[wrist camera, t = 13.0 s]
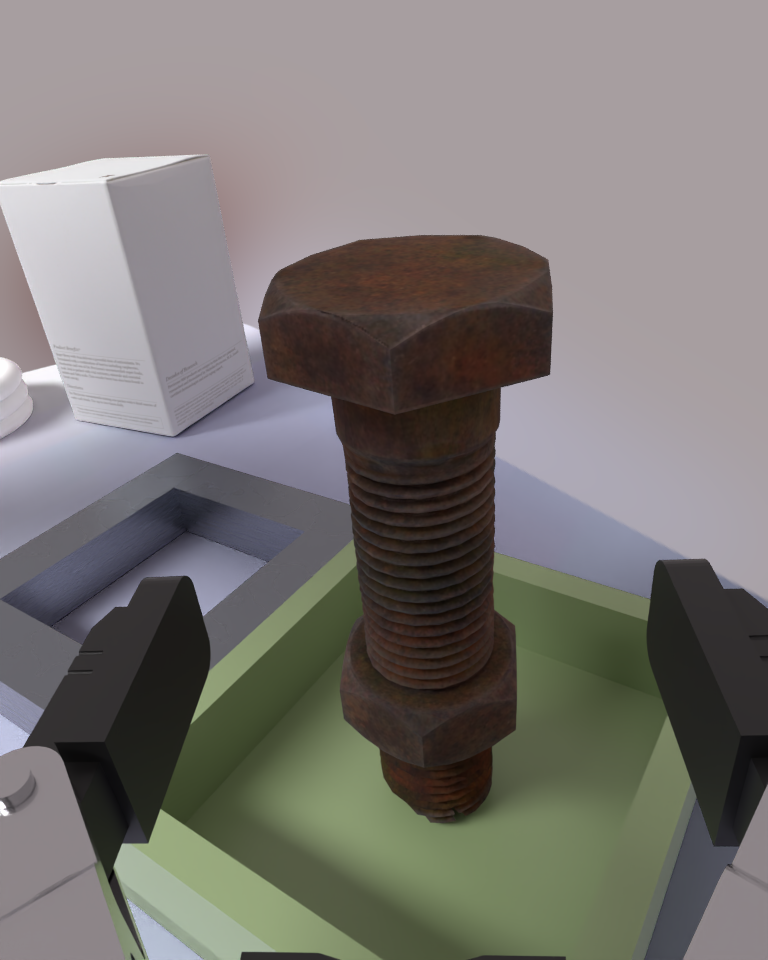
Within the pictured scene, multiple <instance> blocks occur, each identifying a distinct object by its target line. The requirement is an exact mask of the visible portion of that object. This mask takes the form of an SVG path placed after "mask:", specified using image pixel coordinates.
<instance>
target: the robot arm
mask: <svg viewBox="0 0 768 960" xmlns="http://www.w3.org/2000/svg"><path fill="white" fill-rule="evenodd" d="M646 640H647V651H648V657H649V662H650V665H651V669H652V672H653V674H654V677H655V680H656V683H657V686H658V689H659V691H660V694H661V697H662V700H663V703H664V706H665V709H666V711H667V714H668V717H669V720H670V723H671V726H672V728H673V731H674V734H675V737H676V740H677V743H678V746H679V748H680V751H681V754H682V757H683V760H684V763H685V766H686V768H687V771H688V774H689V777H690V780H691V783H692V785H693V788H694V791H695V794H696V797H697V800H698V803H699V805H700V808H701V811H702V814H703V817H704V820H705V822H706V825H707V828H708V831H709V834H710V837H711V840H712V842H713V845H714V846H740V847H739V849H738V851H737V854H736V856H735V858H734V860H733V862H732V864H731V865H730V864H728V865H727V866H726V868H725V869H724V871H723V873H722V875H721V877H720V879H719V881H718V883H717V886H716V888H715V890H714V892H713V894H712V897H711V899H710V901H709V903H708V905H707V908H706V910H705V912H704V914H703V916H702V919H701V921H700V923H699V925H698V927H697V930H696V932H695V934H694V936H693V938H692V941H691V943H690V945H689V947H688V949H687V952H686V954H685V956H684V958H683V960H768V609H767V608H766V607H765V606H764V605H762V604H761V603H760V602H759V601H758V600H756V599H755V598H754V597H753V596H751V595H750V594H749V593H748V592H746V591H745V590H744V589H723V587H722V585H721V583H720V581H719V579H718V578H717V576H716V574H715V572H714V570H713V568H712V566H711V565H710V563H709V562H708V561H707V560H706V559H683V560H659V561H658V562H657V563H656V565H655V569H654V576H653V584H652V591H651V599H650V607H649V614H648V622H647V632H646ZM210 660H211V649H210V641H209V637H208V633H207V630H206V626H205V623H204V619H203V616H202V612H201V609H200V605H199V602H198V599H197V595H196V592H195V588H194V585H193V582H192V580H191V579H190V578H189V577H188V576H170V577H147V578H144V579H143V580H142V581H141V583H140V584H139V586H138V588H137V590H136V592H135V593H134V595H133V597H132V599H131V601H130V603H129V604H128V606H127V607H115V608H114V609H113V610H112V611H111V612H109V613H108V614H107V615H106V616H105V617H104V618H103V619H102V620H100V621H99V622H98V623H97V624H96V625H95V626H94V627H93V628H92V629H91V631H90V633H89V634H88V636H87V638H86V640H85V641H84V643H83V645H82V646H81V648H80V650H79V656H76V657H75V658H74V660H73V662H72V664H71V665H70V667H69V669H68V675H65V676H64V677H63V679H62V681H61V683H60V684H59V686H58V688H57V690H56V691H55V693H54V695H53V696H52V698H51V700H50V702H49V703H48V705H47V707H46V708H45V710H44V712H43V714H42V715H41V717H40V719H39V721H38V722H37V724H36V726H35V727H34V729H33V731H32V733H31V734H30V736H29V738H28V739H27V741H26V743H25V745H24V746H23V748H20V749H17V750H14V751H11V752H9V753H6V754H4V755H2V756H0V960H149V959H148V956H147V954H146V951H145V948H144V945H143V943H142V940H141V937H140V934H139V932H138V929H137V926H136V923H135V920H134V918H133V915H132V912H131V909H130V907H129V904H128V901H127V898H126V896H125V893H124V890H123V887H122V885H121V882H120V879H119V876H118V874H117V871H116V869H115V867H114V864H115V861H116V859H117V856H118V853H119V851H120V848H121V846H122V844H148V843H149V840H150V837H151V835H152V832H153V829H154V826H155V823H156V820H157V818H158V815H159V812H160V809H161V806H162V804H163V801H164V798H165V795H166V792H167V789H168V787H169V784H170V781H171V778H172V775H173V772H174V770H175V767H176V764H177V761H178V758H179V755H180V753H181V750H182V747H183V744H184V741H185V739H186V736H187V733H188V730H189V727H190V724H191V722H192V719H193V716H194V713H195V710H196V707H197V705H198V702H199V699H200V696H201V693H202V690H203V688H204V685H205V682H206V679H207V676H208V673H209V668H210ZM240 960H340V959H337V958H334V957H331V956H327V955H324V954H321V953H302V952H242V953H241V958H240ZM468 960H566V956H504V955H482V956H479V957H475V958H472V959H468Z"/></svg>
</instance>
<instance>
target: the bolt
mask: <svg viewBox="0 0 768 960" xmlns="http://www.w3.org/2000/svg"><path fill="white" fill-rule="evenodd" d="M552 321H553V303H552V284H551V276H550V269H549V262H548V259H546V258H544V257H542V256H540V255H539V254H537V253H535V252H533V251H531V250H529V249H527V248H525V247H523V246H520V245H517V244H514V243H510V242H508V241H504V240H501V239H498V238H494V237H488V236H482V235H419V236H405V237H393V238H379V239H367V240H358V241H356V242H352V243H349V244H346V245H343V246H339V247H336V248H333V249H330V250H326V251H323V252H320V253H316V254H313V255H310V256H308V257H306V258H304V259H302V260H300V261H298V262H296V263H294V264H291V265H289V266H287V267H285V268H283V269H281V270H280V271H278V272H277V273H276V274H275V276H274V278H273V279H272V280H271V283H270V285H269V287H268V289H267V292H266V294H265V297H264V300H263V304H262V308H261V312H260V316H259V319H258V323H259V329H260V335H261V341H262V347H263V353H264V359H265V365H266V371H267V377H268V379H271V380H274V381H278V382H281V383H285V384H289V385H292V386H296V387H299V388H303V389H306V390H310V391H313V392H317V393H320V394H324V395H327V396H331V399H332V406H333V413H334V420H335V427H336V433H337V435H338V437H339V439H340V441H341V443H342V445H343V449H344V455H345V463H346V471H347V477H348V484H349V487H348V488H349V497H350V499H349V500H350V506H351V520H352V534H353V536H354V537H353V539H354V547H355V554H356V559H357V562H356V565H357V570H358V581H359V584H360V588H359V589H360V592H361V601H362V610H363V613H364V614H363V615H362V616H361V617H359V618H358V619H356V621H355V623H354V625H353V627H352V628H351V631H350V635H349V638H348V641H347V645H346V650H345V655H344V660H343V666H342V674H341V682H340V697H341V703H342V710H343V716H344V720H345V721H346V722H347V723H349V724H350V725H351V726H352V727H353V728H354V729H355V730H356V731H357V732H358V733H360V734H361V735H362V736H363V737H364V738H365V739H367V740H368V741H370V742H371V743H373V744H374V745H375V746H377V747H378V748H379V750H380V757H381V761H380V762H381V767H382V772H383V778H384V779H385V781H386V783H387V784H388V786H389V787H390V789H391V791H392V792H393V793H394V794H395V795H397V796H398V797H399V798H401V799H402V800H403V801H405V802H406V803H407V804H408V805H409V806H410V807H411V808H412V809H413V810H414V812H415V813H416V814H417V815H422V816H426V818H427V819H428V820H429V822H430V823H447V822H453V821H456V820H455V818H454V817H453V815H455V813H454V811H453V810H452V808H454V809H455V810H457V811H458V812H459V813H461V812H462V813H463V814H464V815H465V816H467V815H469V814H471V813H473V812H475V811H476V810H477V809H478V808H479V807H480V805H481V804H482V803H483V802H484V801H485V800H486V798H487V796H488V794H489V792H490V789H491V785H492V772H493V765H492V763H493V754H492V746H494V745H495V744H497V743H498V742H499V741H501V740H502V739H504V738H505V737H506V736H508V735H509V734H511V733H512V732H514V731H515V730H516V714H517V658H516V631H515V625H514V624H512V623H511V622H510V621H508V620H507V619H506V618H505V617H503V616H502V615H501V614H499V613H498V612H497V611H496V610H494V597H493V593H494V587H493V575H494V571H493V566H494V548H495V544H494V534H495V527H494V522H495V514H494V512H495V504H494V497H495V488H494V484H495V477H494V469H495V459H494V457H495V440H496V431H497V429H498V427H499V423H500V397H501V395H500V394H501V387H504V386H509V385H513V384H516V383H521V382H525V381H528V380H532V379H536V378H540V377H544V376H548V375H550V365H551V343H552V342H551V341H552Z"/></svg>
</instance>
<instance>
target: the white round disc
mask: <svg viewBox="0 0 768 960" xmlns="http://www.w3.org/2000/svg"><path fill="white" fill-rule="evenodd" d="M32 411H33V400H32V399H31V397H30V396H29V395H28V388H27V385H26V383H25V382H24V381H23V379H22V371H21V369H20V368H19V367H18V365H17V364H16V363H15V362H13V361H11V360H8V359H6V358H2V357H0V439H1V438H3V437H5V436H7V435H8V434H10V433H12V432H13V431H15V430H16V429H18V428H19V427H20V426H21V425H23V424H24V423H25V422H26V421H27V419H28V418H29V417H30V415H31V414H32Z"/></svg>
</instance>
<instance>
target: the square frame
mask: <svg viewBox="0 0 768 960" xmlns="http://www.w3.org/2000/svg"><path fill="white" fill-rule="evenodd" d="M184 531H189V532H191V533H194V534H197V535H199V536H202V537H205V538H207V539H210V540H212V541H215V542H218V543H220V544H223V545H226V546H228V547H231V548H234V549H236V550H239V551H242V552H244V553H247V554H250V555H252V556H255V557H258V558H260V559H263V560H266V561H268V563H267V564H266V565H264V566H263V567H262V568H261V569H260V570H258V571H257V572H256V573H255V574H254V575H252V576H251V577H250V578H249V579H248V580H246V581H245V582H244V583H243V584H242V585H240V586H239V587H238V588H237V589H236V590H234V591H233V592H232V593H231V594H230V595H228V596H227V597H226V598H225V599H224V600H222V601H221V602H220V603H219V604H218V605H217V606H215V607H214V608H213V609H212V610H211V611H209V612H208V613H207V614H206V615H205V616H203V619H204V623H205V626H206V630H207V633H208V637H209V641H210V649H211V660H210V668H209V671H210V670H211V669H212V668H213V667H214V666H215V665H216V664H218V663H219V662H220V661H221V660H222V659H223V658H224V657H225V656H226V655H227V654H228V653H230V652H231V651H232V650H233V649H234V648H235V647H236V646H237V645H238V644H239V643H240V642H242V641H243V640H244V639H245V638H246V637H247V636H248V635H249V634H250V633H251V632H253V631H254V630H255V629H256V628H257V627H258V626H259V625H260V624H261V623H262V622H263V621H265V620H266V619H267V618H268V617H269V616H270V615H271V614H272V613H273V612H274V611H275V610H277V609H278V608H279V607H280V606H281V605H282V604H283V603H284V602H285V601H286V600H287V599H289V598H290V597H291V596H292V595H293V594H294V593H295V592H296V591H297V590H298V589H299V588H301V587H302V586H303V585H304V584H305V583H306V582H307V581H308V580H309V579H310V578H311V577H313V576H314V575H315V574H316V573H317V572H318V571H319V570H320V569H321V568H322V567H323V566H325V565H326V564H327V563H328V562H329V561H330V560H331V559H332V558H333V557H334V556H335V555H337V554H338V553H339V552H340V551H341V550H342V549H343V548H344V547H345V546H346V545H347V544H349V543H350V542H351V541H352V540H353V537H354V536H353V534H352V520H351V506H350V505H349V504H346V503H343V502H339V501H336V500H333V499H329V498H326V497H323V496H319V495H316V494H313V493H309V492H306V491H302V490H299V489H296V488H292V487H289V486H286V485H282V484H279V483H276V482H272V481H269V480H266V479H262V478H259V477H256V476H252V475H249V474H246V473H242V472H239V471H236V470H232V469H229V468H226V467H222V466H219V465H216V464H212V463H209V462H206V461H202V460H199V459H196V458H192V457H189V456H186V455H182V454H179V453H176V454H174V455H173V456H171V457H169V458H168V459H166V460H164V461H163V462H161V463H159V464H158V465H156V466H154V467H153V468H151V469H149V470H148V471H146V472H144V473H143V474H141V475H139V476H138V477H136V478H134V479H133V480H131V481H129V482H128V483H126V484H124V485H123V486H121V487H119V488H118V489H116V490H114V491H113V492H111V493H109V494H108V495H106V496H104V497H103V498H101V499H99V500H98V501H96V502H94V503H93V504H91V505H89V506H88V507H86V508H84V509H83V510H81V511H79V512H78V513H76V514H74V515H73V516H71V517H69V518H68V519H66V520H64V521H63V522H61V523H59V524H58V525H56V526H54V527H53V528H51V529H49V530H48V531H46V532H44V533H43V534H41V535H39V536H38V537H36V538H34V539H33V540H31V541H29V542H28V543H26V544H24V545H23V546H21V547H19V548H18V549H16V550H14V551H13V552H11V553H9V554H8V555H6V556H4V557H3V558H1V559H0V714H1V715H3V716H4V717H6V718H7V719H9V720H10V721H12V722H13V723H14V724H16V725H17V726H19V727H20V728H22V729H23V730H24V731H26V732H27V733H29V734H31V733H32V731H33V729H34V727H35V726H36V724H37V722H38V721H39V719H40V717H41V715H42V714H43V712H44V710H45V708H46V707H47V705H48V703H49V702H50V700H51V698H52V696H53V695H54V693H55V691H56V690H57V688H58V686H59V684H60V683H61V681H62V679H63V677H64V676H65V675H68V669H69V667H70V665H71V664H72V662H73V660H74V658H75V657H76V656H79V650H80V648H81V646H82V644H80V643H78V642H76V641H75V640H73V639H71V638H69V637H67V636H65V635H64V634H62V633H60V632H58V631H56V630H55V629H53V628H51V627H50V626H51V625H53V624H54V623H56V622H57V621H59V620H60V619H61V618H63V617H64V616H66V615H67V614H68V613H70V612H71V611H73V610H74V609H76V608H77V607H78V606H80V605H81V604H83V603H84V602H85V601H87V600H88V599H90V598H91V597H93V596H94V595H95V594H97V593H98V592H100V591H101V590H102V589H104V588H105V587H107V586H108V585H109V584H111V583H112V582H114V581H115V580H117V579H118V578H119V577H121V576H122V575H124V574H125V573H126V572H128V571H129V570H131V569H132V568H134V567H135V566H136V565H138V564H139V563H141V562H142V561H143V560H145V559H146V558H148V557H149V556H151V555H152V554H153V553H155V552H156V551H158V550H159V549H160V548H162V547H163V546H165V545H166V544H168V543H169V542H170V541H172V540H173V539H175V538H176V537H177V536H179V535H180V534H182V533H183V532H184Z"/></svg>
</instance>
